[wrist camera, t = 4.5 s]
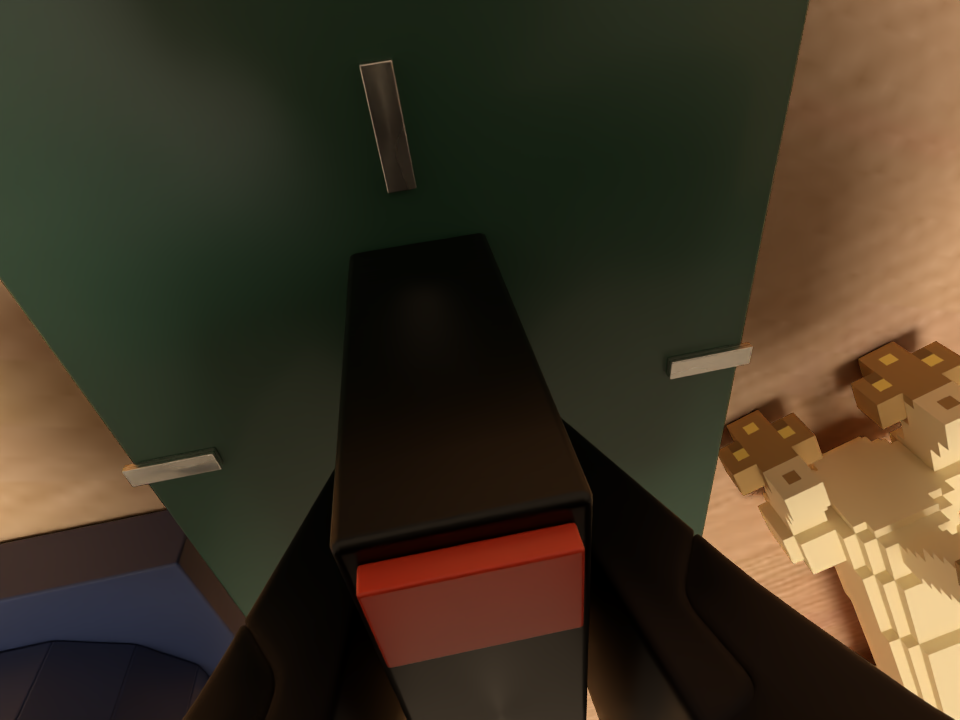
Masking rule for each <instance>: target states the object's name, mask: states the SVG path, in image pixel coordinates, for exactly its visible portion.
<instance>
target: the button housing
mask: <svg viewBox="0 0 960 720" xmlns="http://www.w3.org/2000/svg"><path fill="white" fill-rule="evenodd" d="M245 619H246V617H245V616H244V615H243V613H242V612H241V610H240V609H239V608H238V606H237V605H236V604H235V602H234V601H233V599H232V598H231V597H230V595H229V594H228V593H227V591H226V590H225V588H224V587H223V586H222V584H221V583H220V582H219V580H218V579H217V577H216V576H215V575H214V573H213V572H212V571H211V569H210V568H209V566H208V565H207V564H206V562H205V561H204V560H203V558H202V557H201V555H200V554H199V553H198V551H197V550H196V548H195V547H194V546H193V544H192V543H191V542H190V540H189V539H188V537H187V536H186V535H185V533H184V532H183V531H182V529H181V528H180V526H179V525H178V524H177V522H176V521H175V520H174V518H173V517H172V515H171V514H170V513H169V511H168V510H164V511H159V512H154V513H150V514H145V515H140V516H135V517H130V518H125V519H120V520H115V521H110V522H105V523H100V524H95V525H90V526H85V527H81V528H76V529H71V530H66V531H61V532H56V533H51V534H46V535H41V536H36V537H31V538H26V539H21V540H17V541H12V542H7V543H2V544H0V720H182V719H183V718H184V716H185V715H186V713H187V712H188V710H189V709H190V707H191V706H192V704H193V703H194V702H195V700H196V699H197V697H198V695H199V694H200V692H201V691H202V689H203V687H204V686H205V684H206V683H207V681H208V679H209V678H210V676H211V675H212V673H213V671H214V670H215V668H216V667H217V665H218V663H219V662H220V660H221V659H222V657H223V655H224V654H225V652H226V650H227V649H228V647H229V645H230V644H231V642H232V640H233V639H234V637H235V635H236V633H237V632H238V630H239V628H240V627H241V626H243V625H245V626H246V624H245Z"/></svg>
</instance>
